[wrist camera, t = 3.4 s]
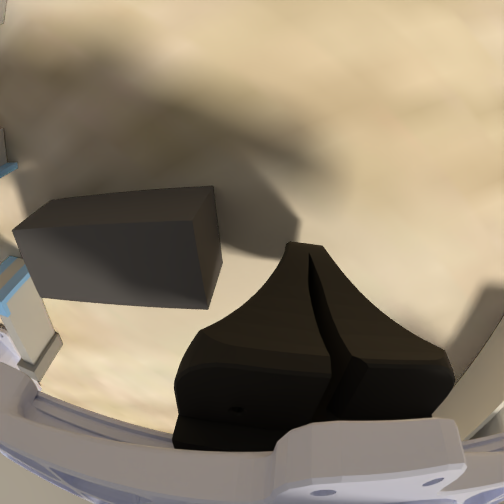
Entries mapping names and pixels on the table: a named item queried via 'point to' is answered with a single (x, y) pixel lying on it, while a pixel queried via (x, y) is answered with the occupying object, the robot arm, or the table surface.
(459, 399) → the container tray
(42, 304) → the blue capped pillar
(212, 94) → the table surface
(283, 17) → the table surface
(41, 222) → the charcoal brick
